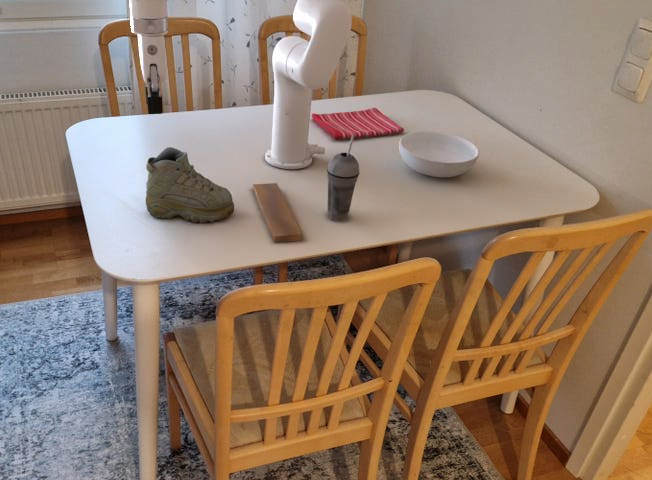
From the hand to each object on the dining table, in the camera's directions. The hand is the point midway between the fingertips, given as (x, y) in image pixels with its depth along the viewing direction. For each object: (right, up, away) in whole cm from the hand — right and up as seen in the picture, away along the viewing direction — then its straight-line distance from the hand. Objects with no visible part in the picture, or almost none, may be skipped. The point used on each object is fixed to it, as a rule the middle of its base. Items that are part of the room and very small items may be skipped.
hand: (154, 108), depth 142 cm
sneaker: (+8, -23, +2) cm, 25 cm away
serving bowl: (+69, -9, +29) cm, 76 cm away
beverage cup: (+41, -24, +4) cm, 48 cm away
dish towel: (+50, +7, +50) cm, 71 cm away
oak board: (+27, -23, +3) cm, 36 cm away
